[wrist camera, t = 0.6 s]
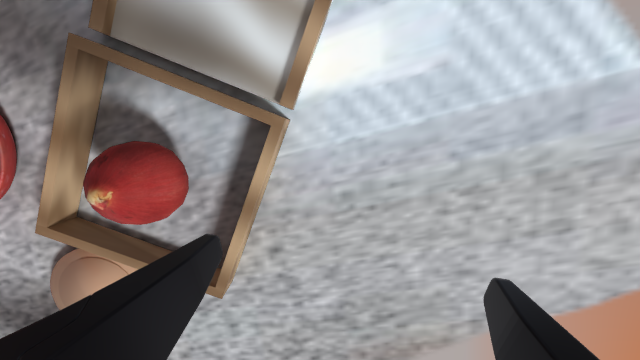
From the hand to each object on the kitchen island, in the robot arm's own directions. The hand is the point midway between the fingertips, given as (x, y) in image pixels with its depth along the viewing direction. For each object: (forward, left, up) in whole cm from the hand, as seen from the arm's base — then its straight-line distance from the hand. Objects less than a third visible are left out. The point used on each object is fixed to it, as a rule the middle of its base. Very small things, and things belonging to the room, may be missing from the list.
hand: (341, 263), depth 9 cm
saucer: (-17, +16, -13) cm, 27 cm away
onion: (-4, +13, -14) cm, 19 cm away
